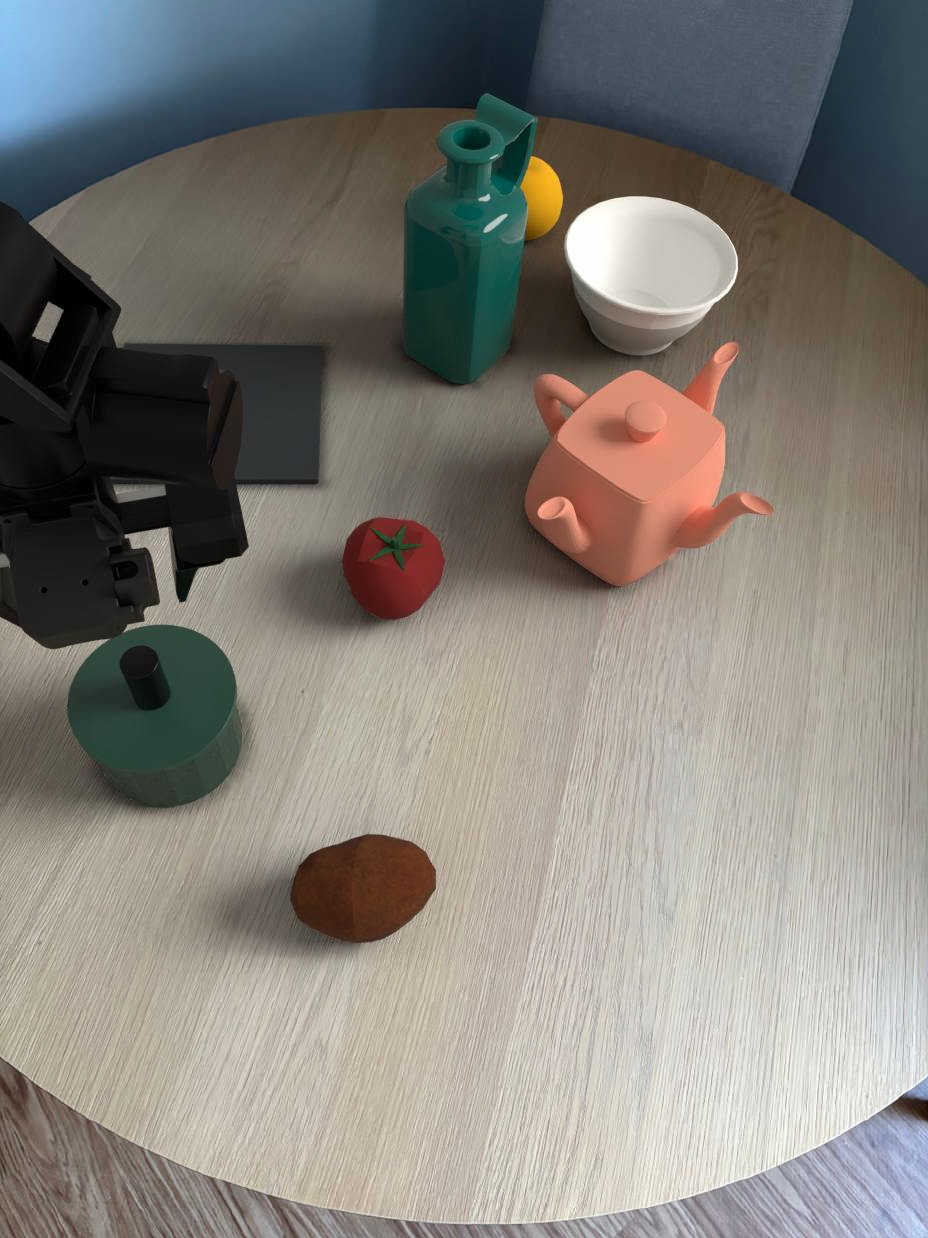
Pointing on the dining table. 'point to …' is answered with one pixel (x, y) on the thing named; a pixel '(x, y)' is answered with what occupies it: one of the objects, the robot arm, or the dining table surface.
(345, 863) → the potato
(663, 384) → the pot
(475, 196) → the pitcher
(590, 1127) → the dining table surface
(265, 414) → the mat
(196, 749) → the tin lid
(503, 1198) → the dining table surface
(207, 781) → the tin
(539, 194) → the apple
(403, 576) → the tomato
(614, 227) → the bowl
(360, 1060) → the dining table surface
